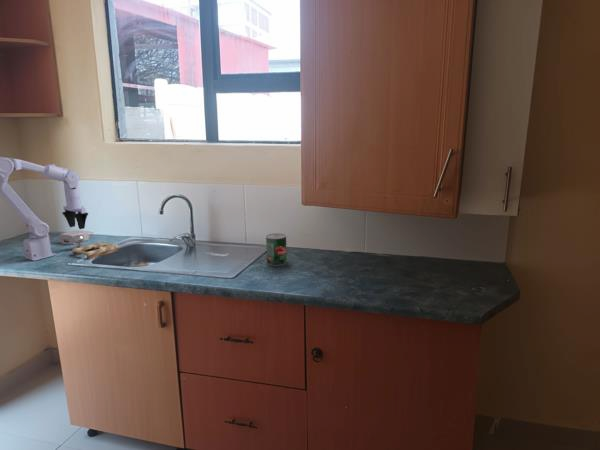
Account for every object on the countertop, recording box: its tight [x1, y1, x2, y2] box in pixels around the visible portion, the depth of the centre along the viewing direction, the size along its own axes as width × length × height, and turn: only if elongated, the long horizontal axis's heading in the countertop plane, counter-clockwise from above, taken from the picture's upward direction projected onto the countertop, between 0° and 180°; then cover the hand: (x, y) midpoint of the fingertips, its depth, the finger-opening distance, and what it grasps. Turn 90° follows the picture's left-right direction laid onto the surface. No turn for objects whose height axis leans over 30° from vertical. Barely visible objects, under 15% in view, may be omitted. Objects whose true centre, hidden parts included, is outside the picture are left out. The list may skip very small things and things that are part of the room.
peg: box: [72, 235, 85, 250], centre depth 199 cm, size 5×5×6 cm
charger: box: [58, 229, 94, 246], centre depth 214 cm, size 5×9×15 cm
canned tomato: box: [265, 232, 288, 267], centre depth 173 cm, size 8×8×11 cm
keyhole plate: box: [71, 241, 120, 260], centre depth 192 cm, size 14×12×2 cm
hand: (77, 227), depth 197 cm, fingers open, 7 cm apart
